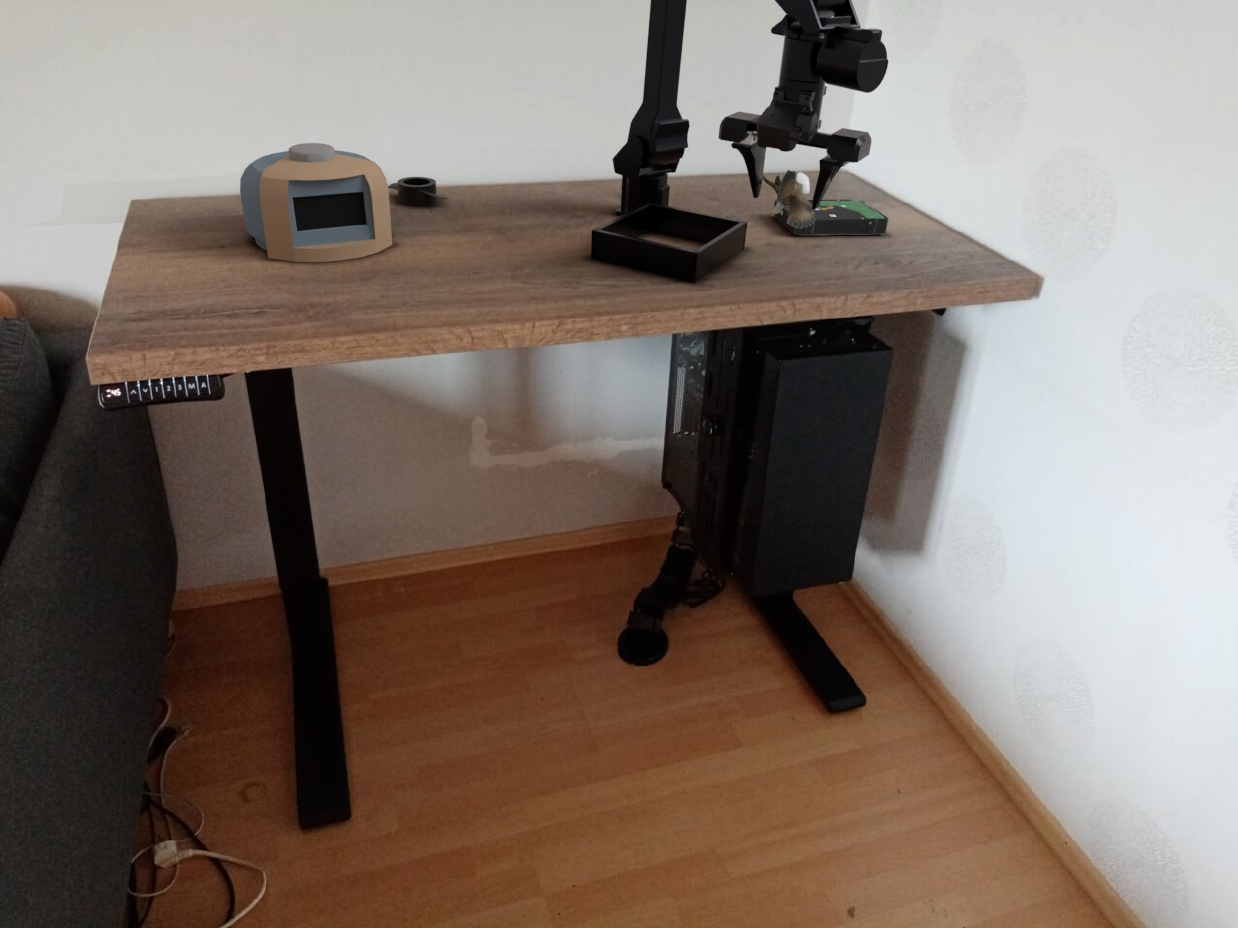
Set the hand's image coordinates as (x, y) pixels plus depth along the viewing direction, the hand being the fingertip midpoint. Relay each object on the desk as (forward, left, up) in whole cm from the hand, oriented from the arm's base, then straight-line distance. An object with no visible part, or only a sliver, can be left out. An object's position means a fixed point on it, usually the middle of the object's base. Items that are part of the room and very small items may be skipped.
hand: (784, 203), depth 129 cm
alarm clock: (-56, -28, -9) cm, 63 cm away
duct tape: (-57, -6, -9) cm, 58 cm away
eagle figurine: (+1, 0, -2) cm, 2 cm away
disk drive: (0, +22, -9) cm, 24 cm away
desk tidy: (-14, -5, -9) cm, 17 cm away
